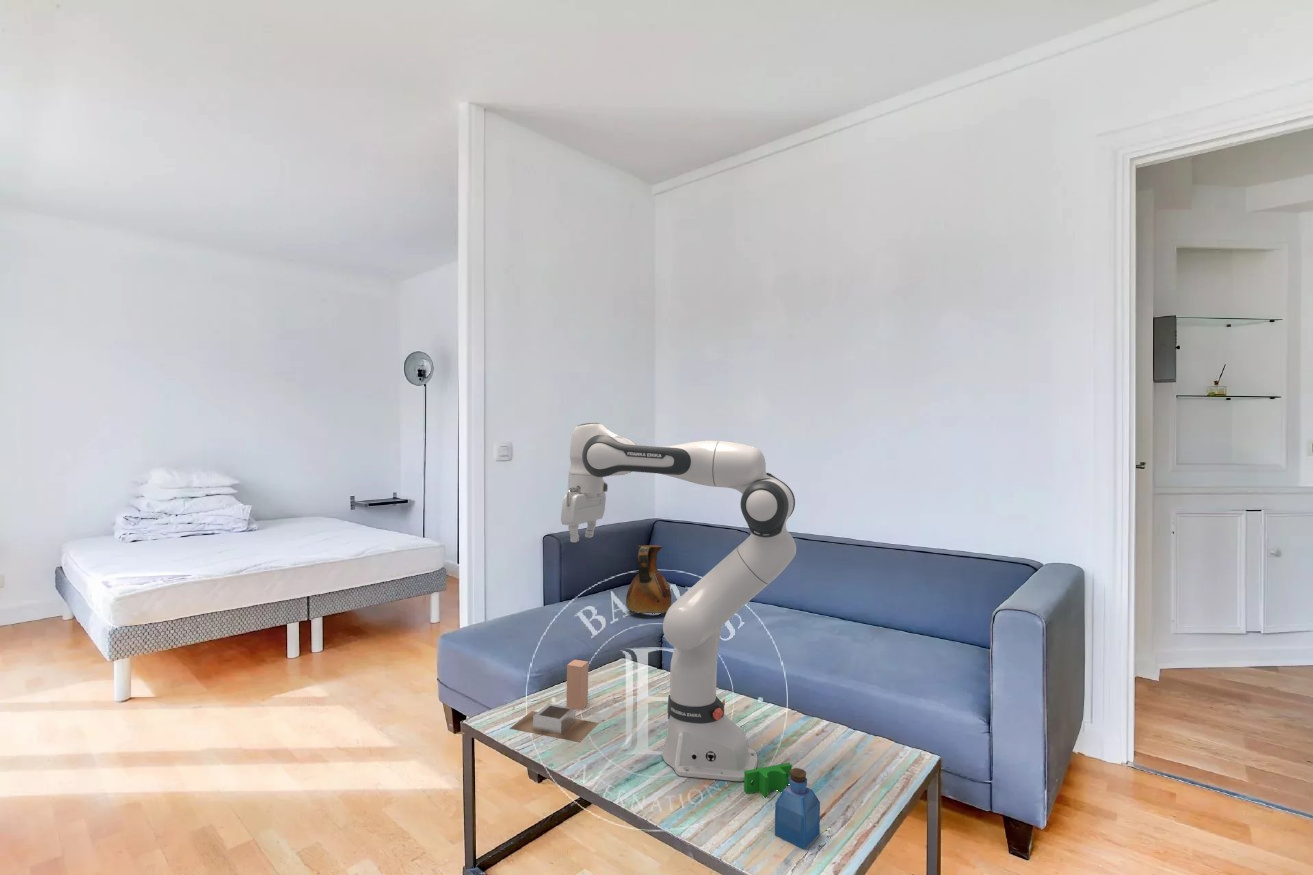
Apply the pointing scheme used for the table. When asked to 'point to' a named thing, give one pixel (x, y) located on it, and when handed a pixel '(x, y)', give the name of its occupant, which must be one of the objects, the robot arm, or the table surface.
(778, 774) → the pipe clamp
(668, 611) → the robot arm
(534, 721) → the square metal frame
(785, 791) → the perfume bottle
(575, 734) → the holder base
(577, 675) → the tall rectangular block
